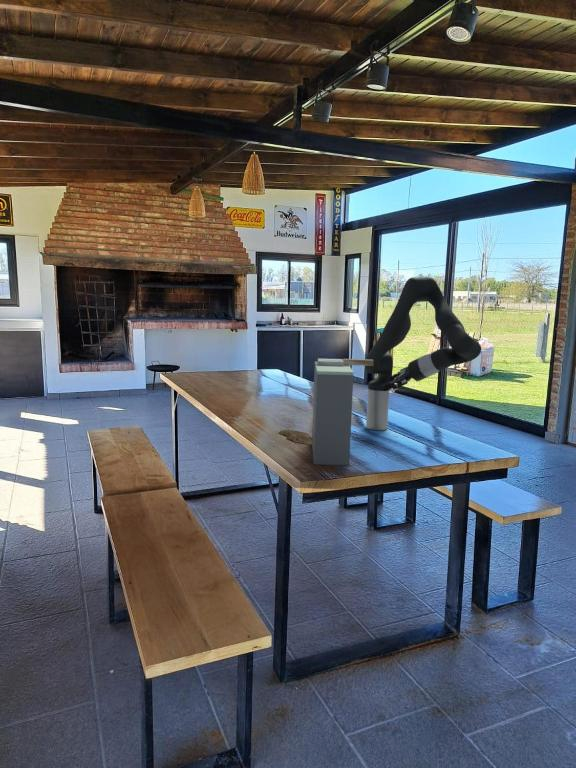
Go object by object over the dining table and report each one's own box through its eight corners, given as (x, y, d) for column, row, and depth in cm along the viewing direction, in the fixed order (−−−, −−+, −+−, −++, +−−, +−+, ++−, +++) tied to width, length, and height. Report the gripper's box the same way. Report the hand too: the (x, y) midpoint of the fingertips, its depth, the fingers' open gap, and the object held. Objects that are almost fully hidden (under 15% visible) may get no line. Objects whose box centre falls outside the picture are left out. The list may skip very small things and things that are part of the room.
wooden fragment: (274, 431, 229) (274, 429, 229) (298, 429, 233) (298, 427, 233) (298, 448, 206) (299, 445, 206) (325, 445, 210) (325, 443, 210)
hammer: (317, 362, 203) (317, 357, 203) (371, 364, 203) (371, 358, 203) (318, 365, 195) (318, 359, 195) (374, 366, 195) (374, 361, 195)
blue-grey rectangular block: (311, 443, 211) (314, 361, 206) (342, 444, 211) (346, 362, 206) (313, 464, 186) (317, 371, 180) (349, 465, 186) (353, 372, 180)
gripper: (424, 351, 199) (387, 368, 208) (414, 365, 187) (375, 383, 197) (434, 368, 200) (397, 385, 209) (425, 383, 188) (386, 400, 197)
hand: (386, 384), depth 203 cm, fingers open, 8 cm apart
